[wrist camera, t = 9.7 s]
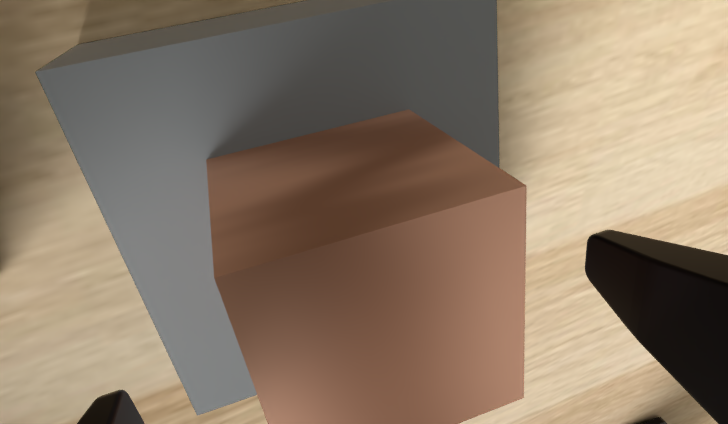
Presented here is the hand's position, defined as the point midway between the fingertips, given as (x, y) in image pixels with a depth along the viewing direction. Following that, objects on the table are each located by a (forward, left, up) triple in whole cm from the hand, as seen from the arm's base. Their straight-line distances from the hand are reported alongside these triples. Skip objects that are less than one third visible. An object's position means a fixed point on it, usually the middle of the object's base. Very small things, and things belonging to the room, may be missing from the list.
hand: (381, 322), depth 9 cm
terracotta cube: (0, 0, -4) cm, 4 cm away
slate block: (0, 0, -8) cm, 8 cm away
